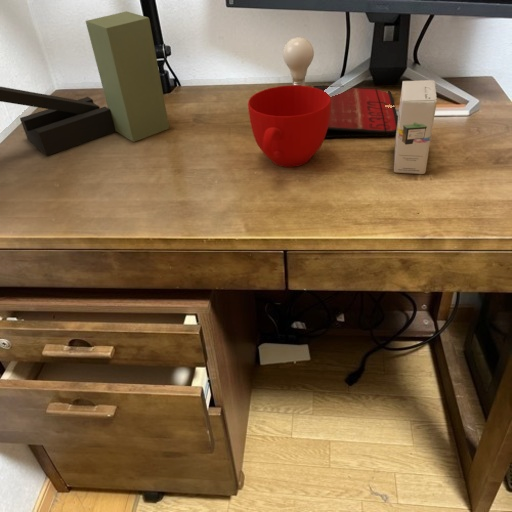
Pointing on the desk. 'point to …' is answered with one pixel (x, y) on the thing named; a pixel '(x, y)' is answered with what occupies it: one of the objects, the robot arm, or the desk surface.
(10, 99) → the pad strip
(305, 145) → the ceramic cup
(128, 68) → the stand
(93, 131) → the dock pad
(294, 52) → the lightbulb
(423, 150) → the ink box
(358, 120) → the binder
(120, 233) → the desk surface
